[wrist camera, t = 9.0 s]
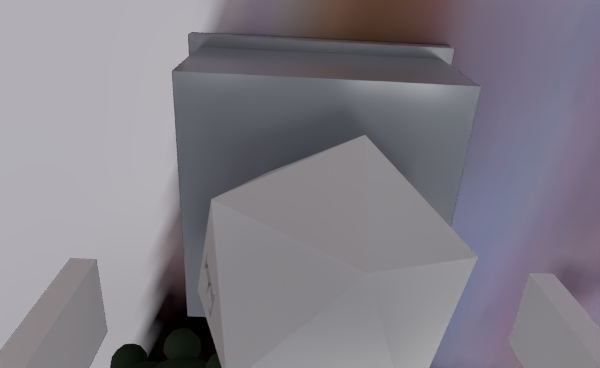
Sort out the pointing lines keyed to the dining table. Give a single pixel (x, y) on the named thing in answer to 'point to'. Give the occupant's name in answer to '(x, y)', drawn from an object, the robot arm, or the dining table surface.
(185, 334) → the toy figurine
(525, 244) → the dining table surface
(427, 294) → the die
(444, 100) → the slate block
